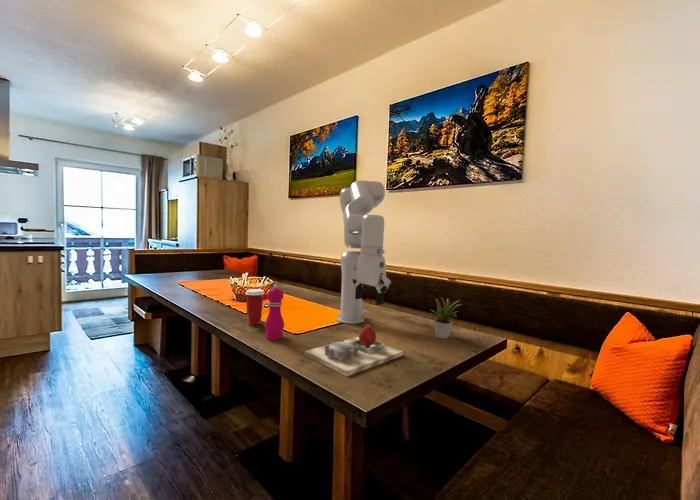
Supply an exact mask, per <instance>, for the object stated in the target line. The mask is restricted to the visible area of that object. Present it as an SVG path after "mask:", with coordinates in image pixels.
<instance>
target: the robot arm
mask: <svg viewBox="0 0 700 500" xmlns="http://www.w3.org/2000/svg"><path fill="white" fill-rule="evenodd" d="M385 196H386V188H385V185H384V184H383V183H382V182H381V181H376V180H375V181H374V180H355V181H354V182H353V183H352V184H351V185H350V187H345V188H343V189H342V190H341V191H340V194H339V203H340V205H339V206H340V208H341V212H342V215H343V218H342V219H343V226H344V227H343V232H344V233H343V235H344V236H343V240H344V246H345V248H348V249H359V251H357V250H355V251H354V250H353V251H352V250H349V251H345V252H343V253H342V254H341V256H340V268H341V269H340V270H341V287H340V288H341V291H340V312H339V313H340V314H339V315H337V317H336V320H337V322H340V323H343V324H350V325H352V324H353V325H354V324H355V325H356V324H361V323H364V322H365V317H364V315H367V314H369V310H368V309H362V306H363V305H362V304H363V303H362V301H363V297H364V287H363V286H364V285H366V286H370V287H375V289H376V291H377V292H376V295H375V296H376V297H375V305H376V306H379V305H383V304H385V293H386V292H387V291H388V290H389V288H390V286H391V284H392V281H391V280H390V279H389V277H388V276H387V266H386V265H387V264H386V259H385V256H384V255H383V254H385V252H386V251H385V250H384V237H385V236H384V235H385V234H384V233H385V217H384V216H382V215H379V214H369V213H370V212H371V211H373V209H374V208H377V207H378V206H379V205H380V204H381V203H382V202H383V201H384V199H385Z"/></svg>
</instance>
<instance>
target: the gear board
mask: <svg viewBox="0 0 700 500" xmlns="http://www.w3.org/2000/svg"><path fill="white" fill-rule="evenodd" d="M403 355H404V351H403V350H400V349H398V348H396V347H392V346H389V345H387V344H386V343H383V342H381V341H378V340H375V342H374V343H373V344H372V345H371V346H369V347H368V348H367V347H365V346H364V345H363V344H362V343H361V342H360V340H359V336H356V337H352V338H348V339H344V340H340V341H329V343H328V344H325V345H321V346H318V347H315V348H311V349H308V350H305V351H304V356H305V357H307V358H309V359H311V360H313V361H315V362H317V363H319V364H321V365H322V366H325V367H327V368H328V369H330V370H333V371H335V372H337V373H339V374H341V375H343V376H345V377H348V376H352V375H355V374H357V373H360V372H362V371H366V370H368V369H371V368H374V367H377V366H380V365H382V364H384V363H387V362H390V361H391V360H392V361H393V360H394V359H398V358H400V357H402V356H403Z"/></svg>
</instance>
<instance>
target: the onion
mask: <svg viewBox="0 0 700 500" xmlns="http://www.w3.org/2000/svg"><path fill="white" fill-rule="evenodd" d="M358 337H359V340H360V342H361V343H362V344H363V345H364V346H365V347H367V348H368V347H369V346H371V345H372V344H373V343H374V342H375V341H377V340H376V339H377V334H376V332H375V330H374V329H373V328H372V327H371V326H370V324H366V326H365V327H363V328H362V329H360V332H359V334H358Z"/></svg>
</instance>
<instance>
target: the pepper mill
mask: <svg viewBox="0 0 700 500" xmlns="http://www.w3.org/2000/svg"><path fill="white" fill-rule="evenodd" d="M266 297H267V299H268V301H267V302H268V307H269V311H268V315H267V317H266V319H265V322H264V329H265V330H266V332H265V338H266V339H268V340H280V339H282V338H283V337H284V335H283V334H284V333H283V329H284V328H285V322H284V319H283V316H282V311H281V307H282V305H283V301H282V300H283V299H284V292H283V290H282V289H280V288H279V286H278V284H276V283H275V284H273V286H272V288H271V289H269V290H268V292H267V293H266Z"/></svg>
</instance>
